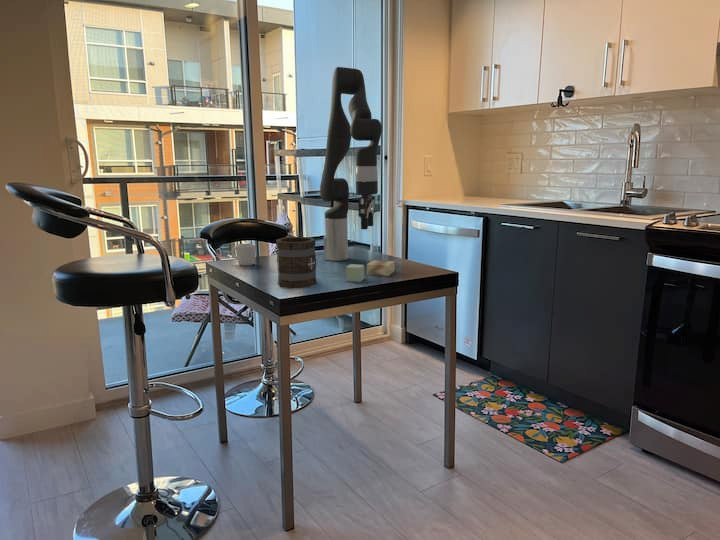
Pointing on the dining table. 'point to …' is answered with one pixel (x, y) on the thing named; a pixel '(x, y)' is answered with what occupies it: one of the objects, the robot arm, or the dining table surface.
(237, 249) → the cup
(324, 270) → the dining table surface
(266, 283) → the dining table surface
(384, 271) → the maple block
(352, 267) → the sage cube
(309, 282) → the mug
